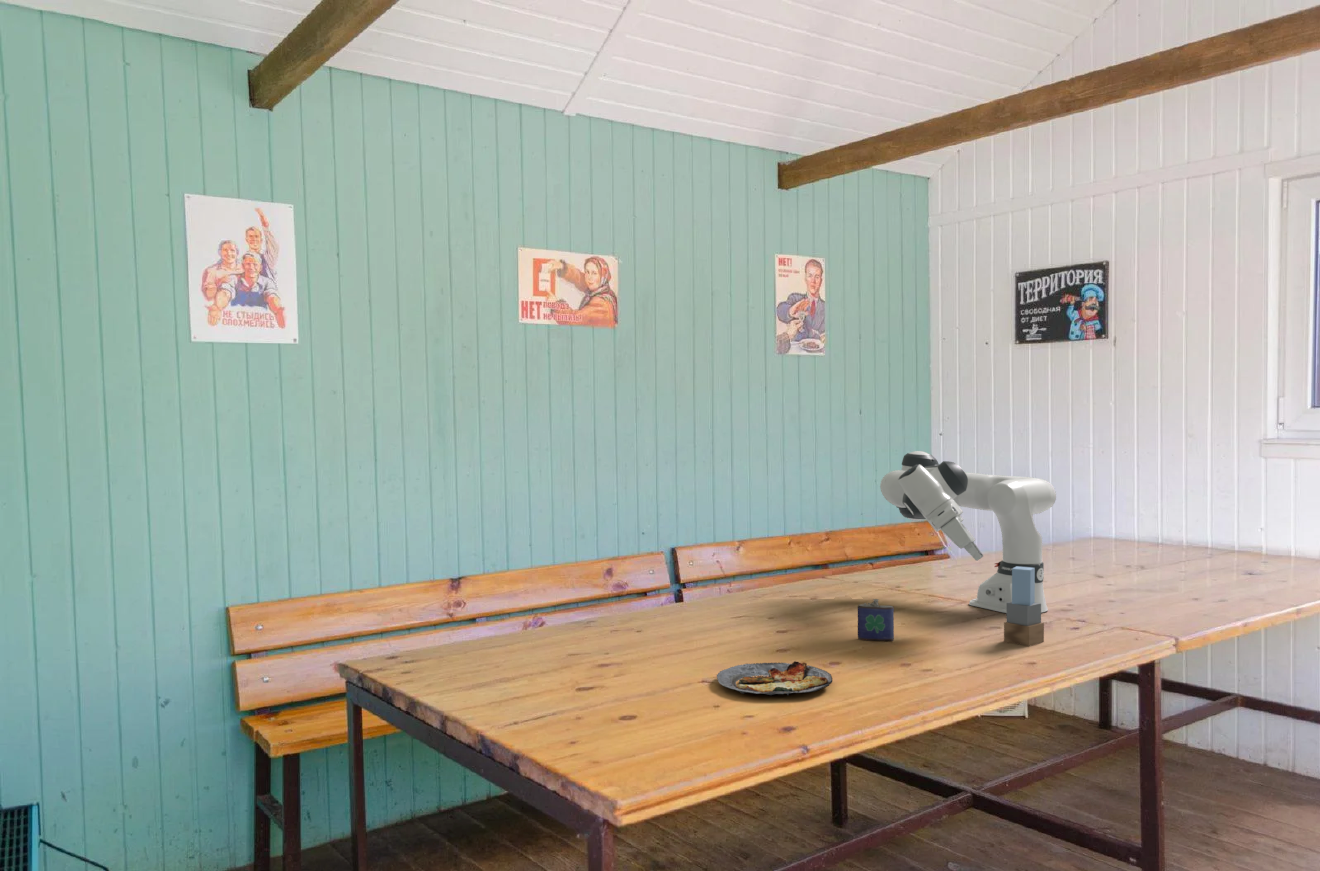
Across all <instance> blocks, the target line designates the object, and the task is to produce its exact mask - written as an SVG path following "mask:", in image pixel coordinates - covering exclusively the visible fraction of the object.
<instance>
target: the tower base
mask: <svg viewBox="0 0 1320 871" xmlns="http://www.w3.org/2000/svg"><path fill="white" fill-rule="evenodd" d="M1044 636H1045V623H1044V622H1041V623H1039V624H1035V625H1030V626H1024V625H1019V624H1014V623H1008V622H1007V621H1005V622H1003V642H1005V643H1006V642H1007V643H1010V644H1015V645H1021V646H1025V647H1031V646H1034V645H1035V646H1036V645H1038V644H1041V643H1045V637H1044Z"/></svg>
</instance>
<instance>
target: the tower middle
mask: <svg viewBox="0 0 1320 871" xmlns="http://www.w3.org/2000/svg"><path fill="white" fill-rule="evenodd" d="M1006 622H1008V623H1014V624H1019V625H1024V626H1030V625H1035V624H1039V623H1042V612H1041V603H1033V604H1032V605H1030V606H1029V605H1019V604H1012V602H1008V603H1007V613H1006Z"/></svg>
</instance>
